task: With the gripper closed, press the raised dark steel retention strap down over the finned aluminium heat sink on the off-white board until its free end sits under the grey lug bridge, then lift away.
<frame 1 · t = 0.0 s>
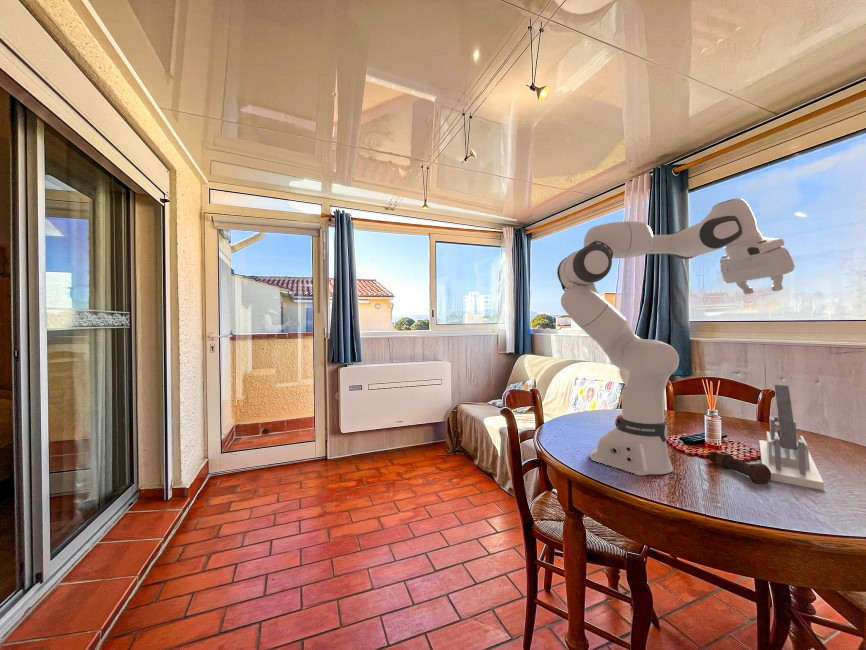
hand: (763, 292, 103), 52 cm above the table, tool tilted 20°, fingers open, 8 cm apart
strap: (785, 414, 100), point 15 cm above the table, hinge at 35.0°
heatsink board: (786, 464, 101), on the table
bolt: (736, 473, 97), on the table
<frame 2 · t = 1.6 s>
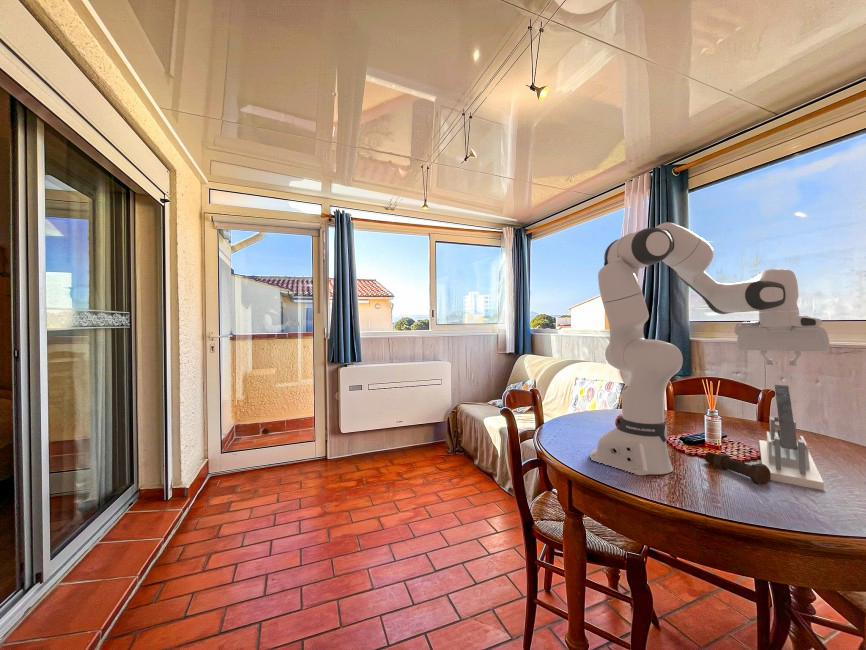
hand: (780, 365, 106), 29 cm above the table, tool pointing down, fingers open, 4 cm apart
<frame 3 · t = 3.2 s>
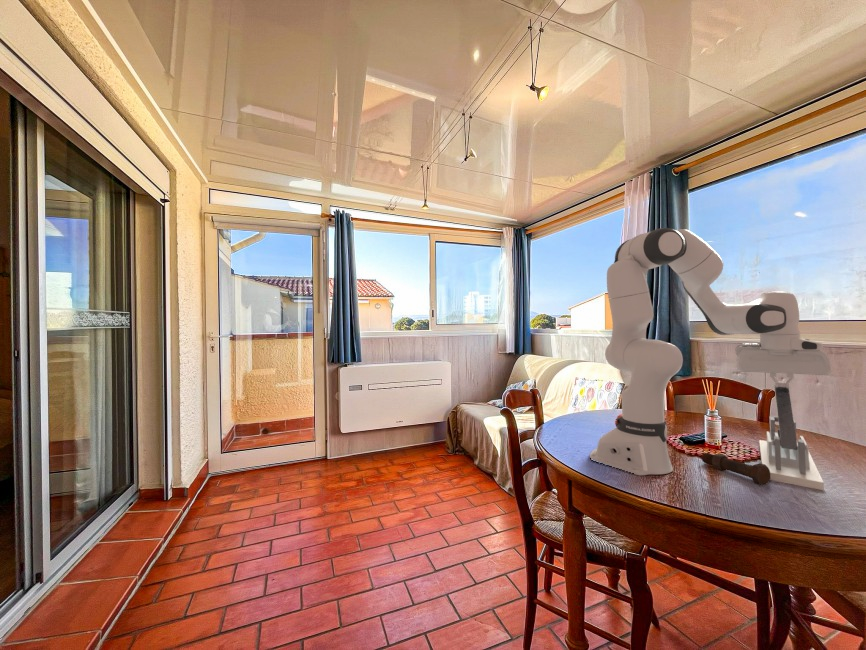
hand: (782, 387, 106), 22 cm above the table, tool pointing down, fingers closed, pressing on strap
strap: (785, 414, 100), point 15 cm above the table, hinge at 34.9°, touching gripper
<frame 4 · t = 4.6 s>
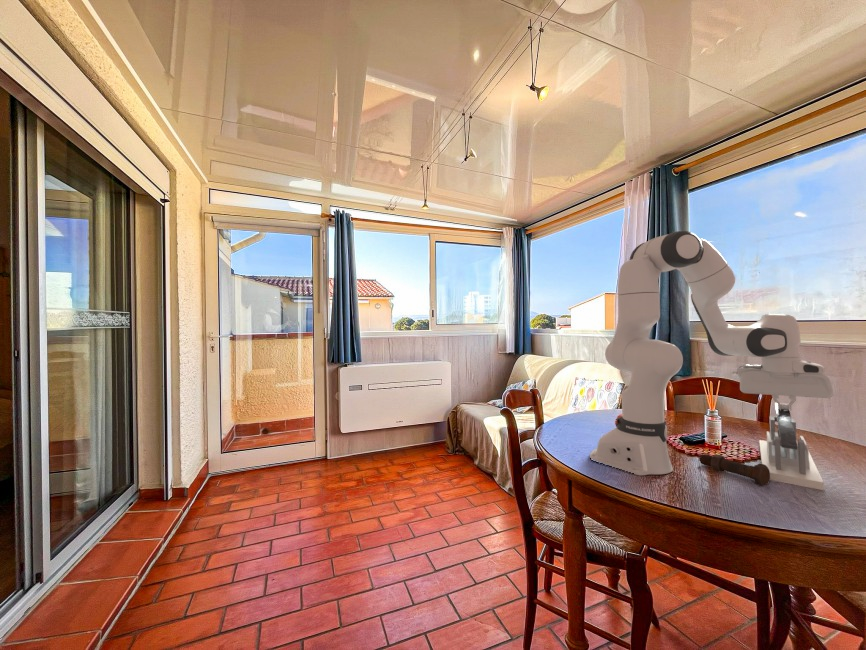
hand: (784, 409, 106), 15 cm above the table, tool pointing down, fingers closed, pressing on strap
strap: (785, 424, 101), point 12 cm above the table, hinge at 17.0°, touching gripper
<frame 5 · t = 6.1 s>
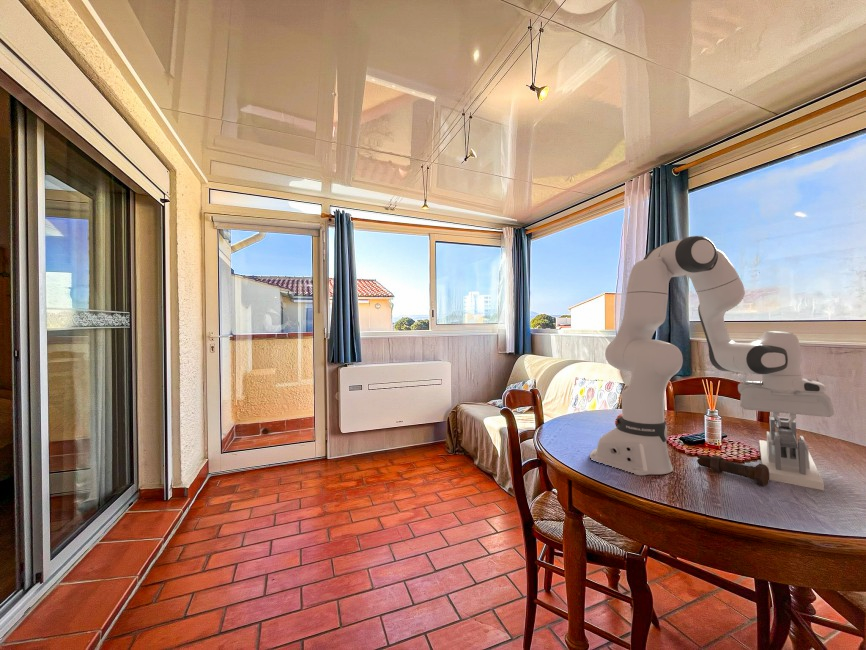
hand: (784, 427, 106), 10 cm above the table, tool pointing down, fingers closed, pressing on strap
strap: (785, 433, 101), point 9 cm above the table, hinge at 0.9°, touching gripper
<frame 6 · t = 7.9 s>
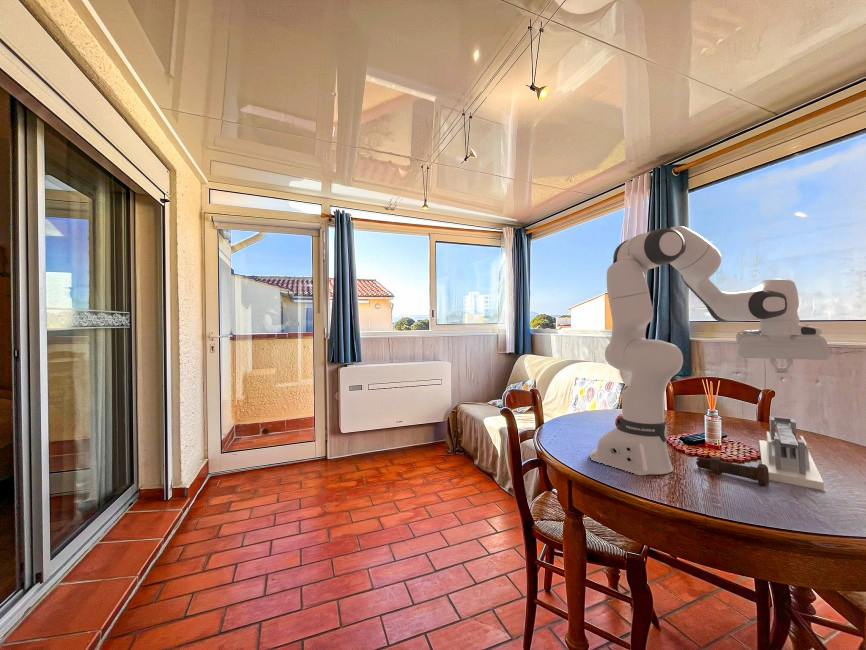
hand: (781, 373, 108), 26 cm above the table, tool pointing down, fingers closed
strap: (785, 434, 101), point 9 cm above the table, hinge at 0.8°
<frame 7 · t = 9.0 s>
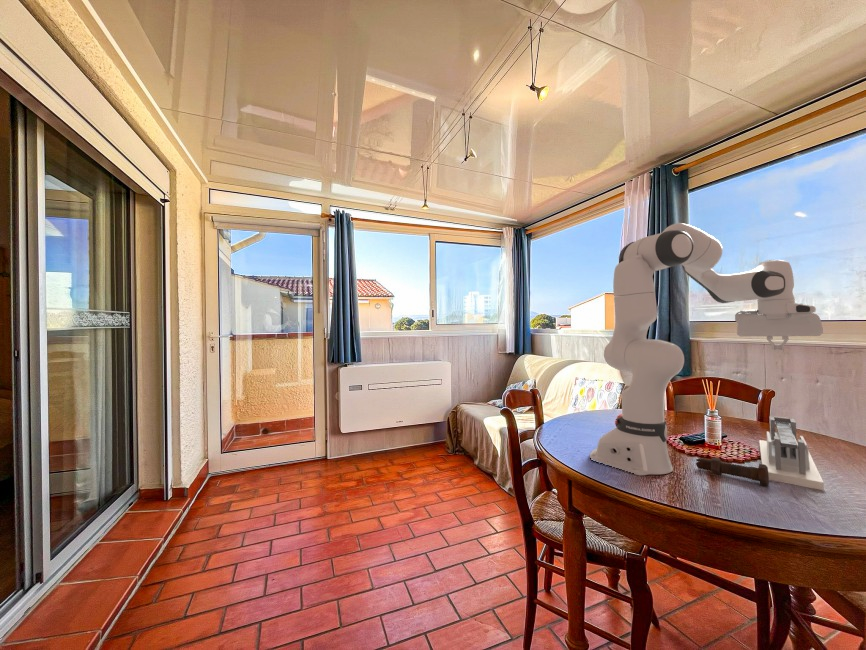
hand: (777, 349, 114), 33 cm above the table, tool pointing down, fingers closed
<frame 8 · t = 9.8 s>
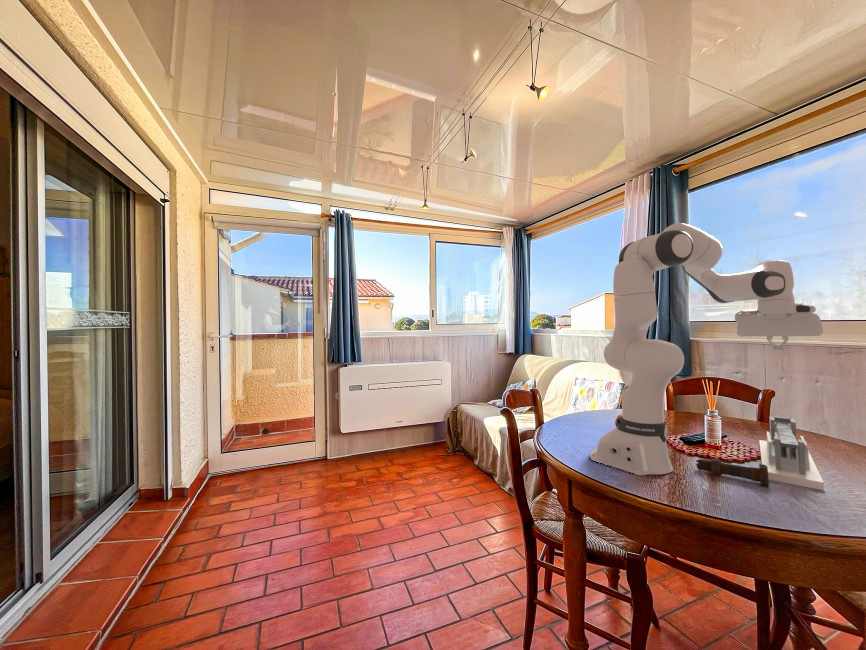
hand: (777, 349, 114), 33 cm above the table, tool pointing down, fingers closed
at the end: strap at +1° (first picture: +35°) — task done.
